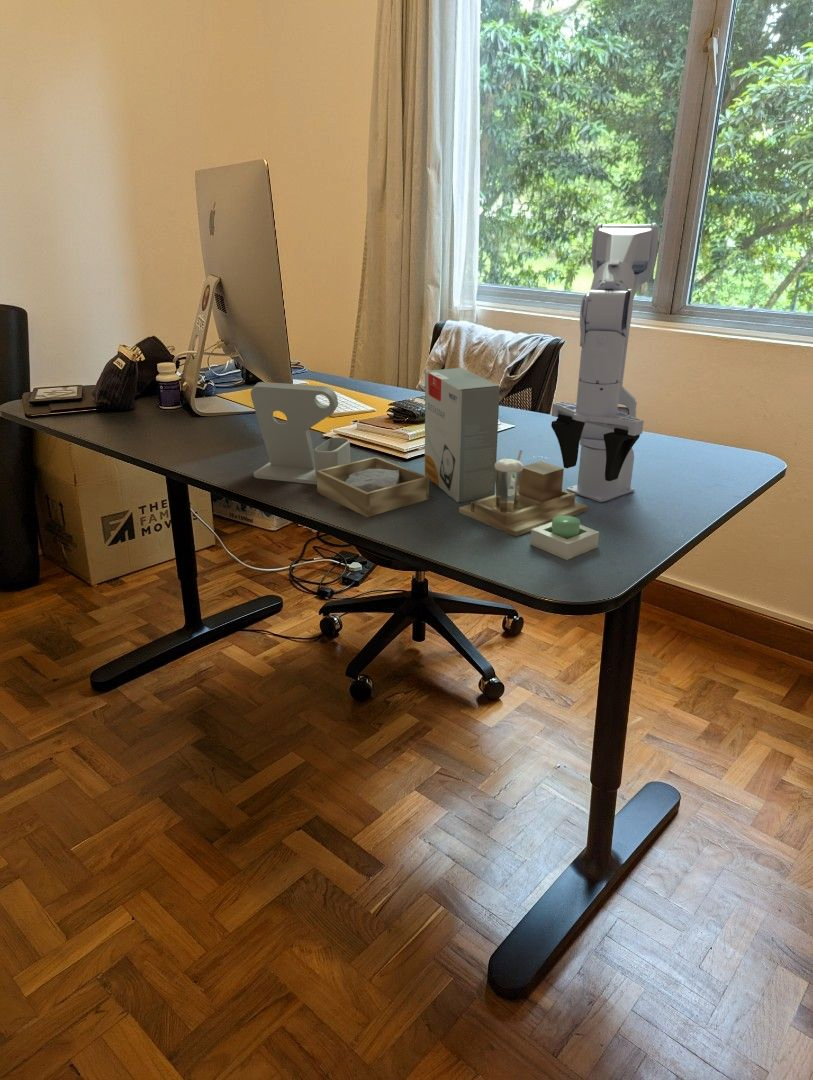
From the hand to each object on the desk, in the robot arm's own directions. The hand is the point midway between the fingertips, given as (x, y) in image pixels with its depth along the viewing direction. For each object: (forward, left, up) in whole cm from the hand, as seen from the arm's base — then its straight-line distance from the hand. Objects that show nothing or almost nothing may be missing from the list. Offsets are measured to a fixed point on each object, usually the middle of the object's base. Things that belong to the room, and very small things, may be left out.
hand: (590, 473), depth 109 cm
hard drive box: (-1, -30, -11) cm, 32 cm away
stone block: (+14, -36, -11) cm, 40 cm away
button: (+4, 0, -9) cm, 10 cm away
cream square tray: (+4, 0, -11) cm, 11 cm away
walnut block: (-5, -14, -10) cm, 18 cm away
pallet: (-1, -14, -11) cm, 17 cm away
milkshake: (+3, -13, -10) cm, 17 cm away
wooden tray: (+14, -36, -11) cm, 40 cm away
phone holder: (+17, -54, -11) cm, 57 cm away
